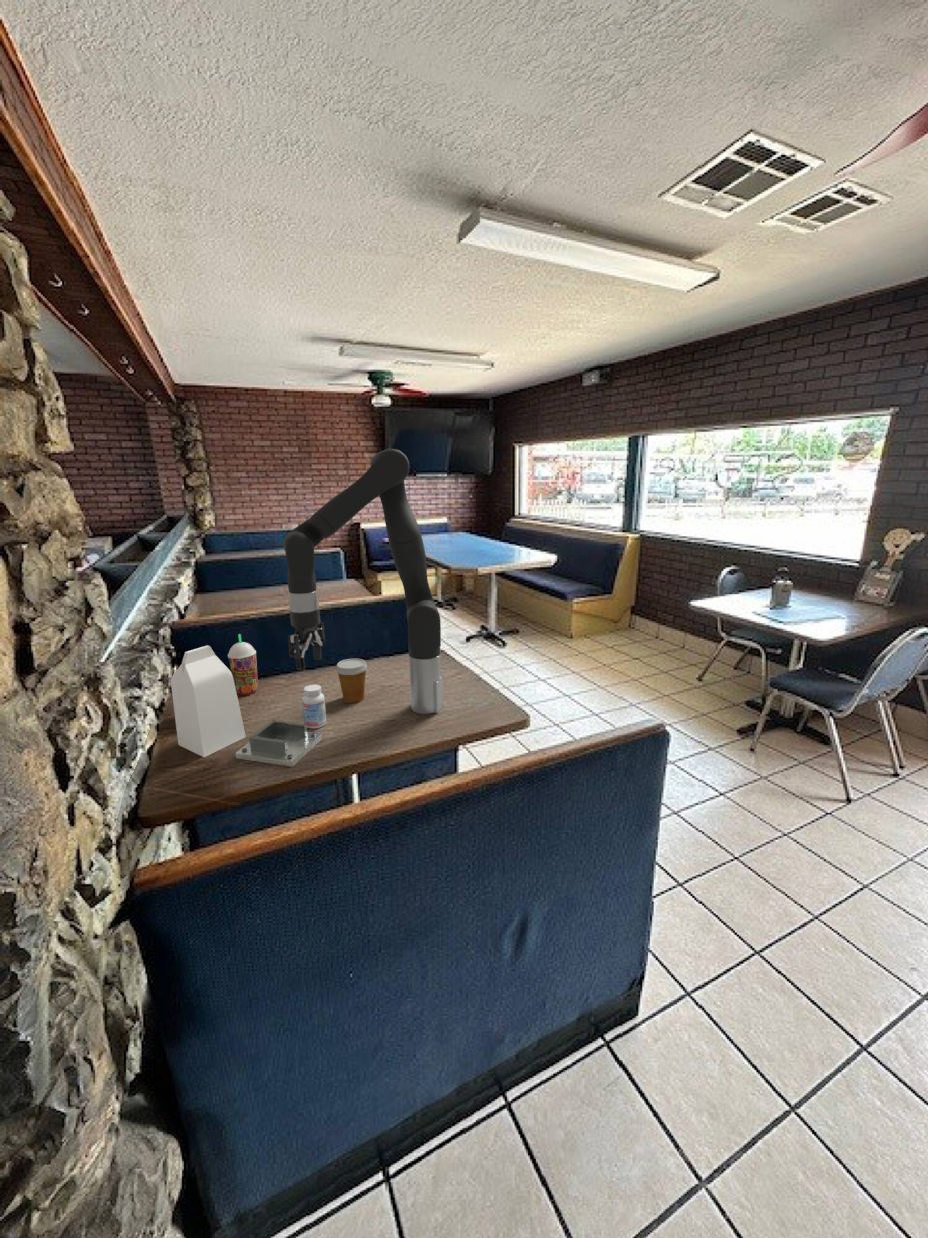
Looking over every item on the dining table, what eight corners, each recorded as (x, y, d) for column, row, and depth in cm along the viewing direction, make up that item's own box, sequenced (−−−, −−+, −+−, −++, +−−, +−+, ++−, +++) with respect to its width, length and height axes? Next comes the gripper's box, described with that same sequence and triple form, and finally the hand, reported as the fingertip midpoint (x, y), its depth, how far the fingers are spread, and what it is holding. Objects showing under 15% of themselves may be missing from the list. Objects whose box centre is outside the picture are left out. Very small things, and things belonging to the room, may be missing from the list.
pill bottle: (299, 727, 143) (296, 690, 140) (313, 717, 148) (309, 682, 145) (318, 731, 141) (314, 693, 138) (331, 721, 146) (327, 685, 143)
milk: (204, 757, 128) (187, 660, 121) (178, 745, 134) (161, 652, 127) (245, 736, 138) (233, 646, 131) (220, 726, 144) (206, 639, 136)
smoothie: (234, 700, 160) (225, 640, 155) (232, 690, 167) (224, 632, 162) (262, 695, 164) (255, 635, 158) (259, 685, 171) (252, 629, 165)
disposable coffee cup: (365, 705, 156) (363, 669, 152) (335, 705, 156) (331, 669, 153) (372, 692, 165) (369, 657, 162) (342, 692, 165) (340, 657, 162)
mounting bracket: (322, 738, 136) (320, 721, 135) (292, 766, 123) (290, 748, 122) (269, 731, 140) (267, 715, 139) (236, 758, 127) (233, 740, 126)
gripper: (302, 615, 128) (307, 675, 132) (330, 602, 141) (334, 657, 145) (275, 613, 129) (282, 673, 134) (306, 600, 143) (311, 654, 147)
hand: (309, 664), depth 140 cm, fingers open, 8 cm apart
